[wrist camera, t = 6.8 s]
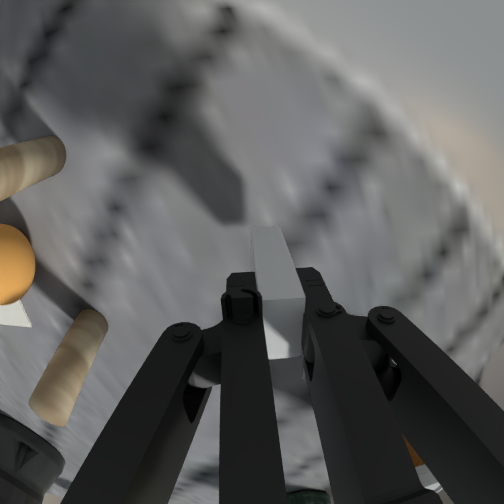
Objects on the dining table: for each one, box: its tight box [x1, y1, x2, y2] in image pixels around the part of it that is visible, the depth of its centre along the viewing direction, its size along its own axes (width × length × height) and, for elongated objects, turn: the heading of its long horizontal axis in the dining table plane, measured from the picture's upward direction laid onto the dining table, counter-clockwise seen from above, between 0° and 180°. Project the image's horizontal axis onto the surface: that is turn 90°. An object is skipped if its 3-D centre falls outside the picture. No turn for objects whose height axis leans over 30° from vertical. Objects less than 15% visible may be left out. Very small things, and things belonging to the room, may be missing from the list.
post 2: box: [29, 309, 108, 426], centre depth 17 cm, size 3×3×9 cm
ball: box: [0, 224, 35, 306], centre depth 15 cm, size 6×6×6 cm
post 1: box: [0, 136, 66, 201], centre depth 11 cm, size 3×3×9 cm
